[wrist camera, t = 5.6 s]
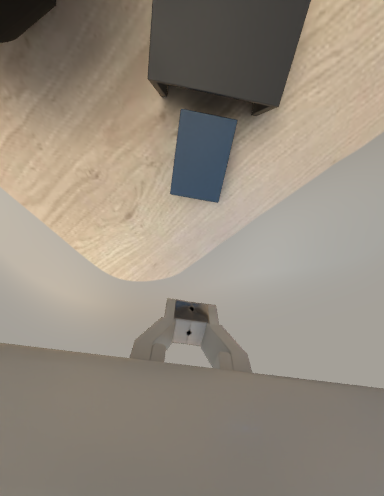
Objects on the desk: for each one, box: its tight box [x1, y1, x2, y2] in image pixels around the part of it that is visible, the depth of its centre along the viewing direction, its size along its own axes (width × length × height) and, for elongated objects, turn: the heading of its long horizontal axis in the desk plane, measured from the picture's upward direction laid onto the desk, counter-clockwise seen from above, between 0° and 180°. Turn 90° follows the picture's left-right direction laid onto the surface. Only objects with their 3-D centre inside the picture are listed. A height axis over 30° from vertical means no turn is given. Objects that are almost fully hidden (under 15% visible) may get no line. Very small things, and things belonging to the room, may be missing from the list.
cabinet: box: [148, 0, 311, 116], centre depth 21 cm, size 12×11×8 cm
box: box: [170, 109, 237, 203], centre depth 27 cm, size 6×9×6 cm
